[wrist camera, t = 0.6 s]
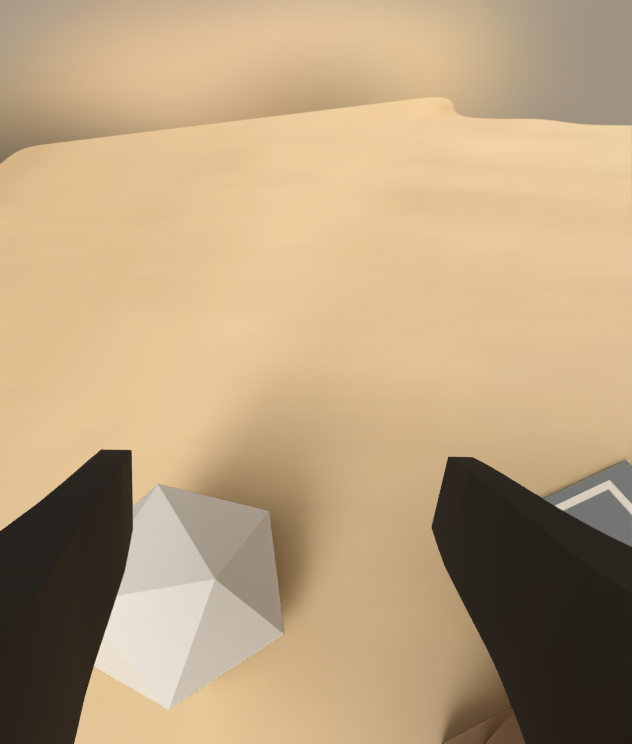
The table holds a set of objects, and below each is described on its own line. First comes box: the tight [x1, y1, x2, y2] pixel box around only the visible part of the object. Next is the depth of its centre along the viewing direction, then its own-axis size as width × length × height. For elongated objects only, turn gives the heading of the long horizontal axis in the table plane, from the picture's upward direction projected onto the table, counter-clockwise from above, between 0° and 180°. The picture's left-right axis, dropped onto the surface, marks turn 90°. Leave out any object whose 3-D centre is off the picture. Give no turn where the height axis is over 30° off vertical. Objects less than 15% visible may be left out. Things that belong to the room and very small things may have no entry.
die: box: [94, 484, 284, 710], centre depth 23 cm, size 8×9×10 cm
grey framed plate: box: [543, 460, 632, 547], centre depth 24 cm, size 9×11×1 cm
